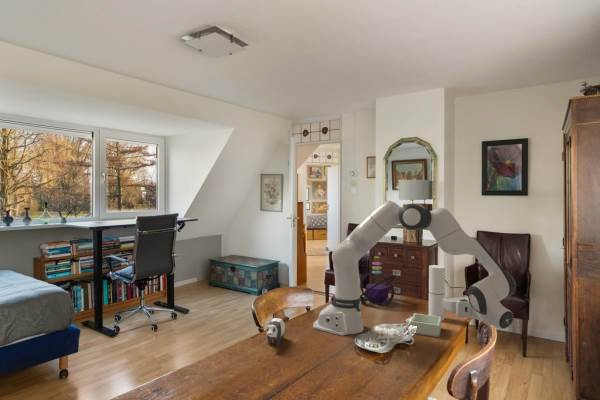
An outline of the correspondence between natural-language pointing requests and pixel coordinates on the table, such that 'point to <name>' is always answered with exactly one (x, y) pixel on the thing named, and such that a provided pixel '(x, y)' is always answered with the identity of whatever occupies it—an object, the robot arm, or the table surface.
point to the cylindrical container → (436, 290)
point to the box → (426, 324)
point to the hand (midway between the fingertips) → (453, 297)
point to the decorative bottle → (377, 287)
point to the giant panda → (275, 331)
